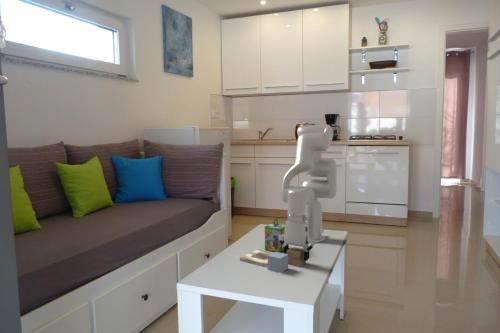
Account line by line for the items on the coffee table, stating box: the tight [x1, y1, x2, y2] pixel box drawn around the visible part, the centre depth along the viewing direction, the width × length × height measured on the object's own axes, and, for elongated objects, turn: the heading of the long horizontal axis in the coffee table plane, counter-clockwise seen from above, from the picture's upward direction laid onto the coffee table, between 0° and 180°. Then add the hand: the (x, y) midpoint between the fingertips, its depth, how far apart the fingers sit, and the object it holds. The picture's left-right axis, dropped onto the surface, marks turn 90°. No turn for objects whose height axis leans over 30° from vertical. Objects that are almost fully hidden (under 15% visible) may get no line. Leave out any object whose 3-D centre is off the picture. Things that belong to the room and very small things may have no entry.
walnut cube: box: [287, 246, 307, 268], centre depth 158 cm, size 6×6×6 cm
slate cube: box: [267, 251, 289, 274], centre depth 151 cm, size 6×6×6 cm
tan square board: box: [239, 248, 274, 268], centre depth 163 cm, size 14×14×2 cm
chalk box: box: [264, 217, 290, 253], centre depth 177 cm, size 9×9×15 cm
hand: (296, 258), depth 157 cm, fingers open, 9 cm apart
